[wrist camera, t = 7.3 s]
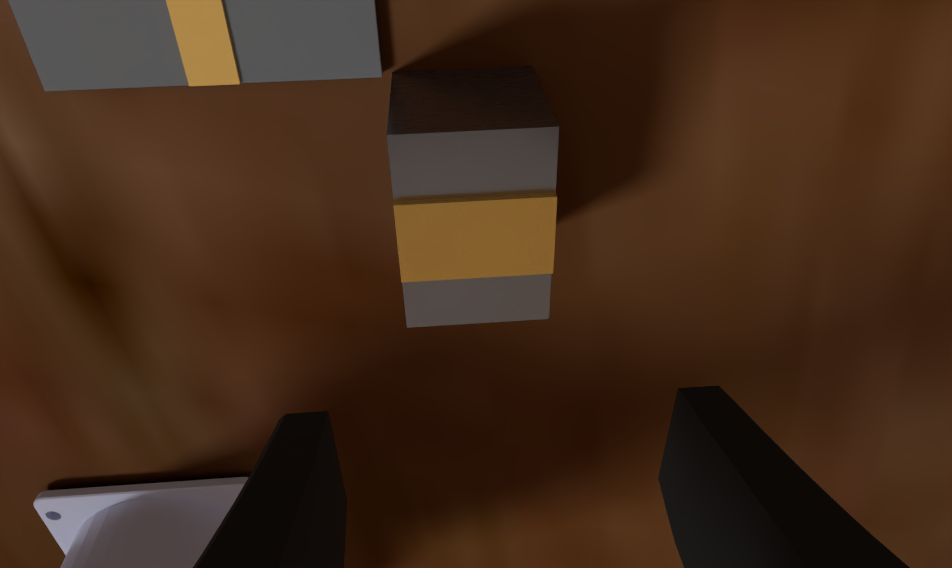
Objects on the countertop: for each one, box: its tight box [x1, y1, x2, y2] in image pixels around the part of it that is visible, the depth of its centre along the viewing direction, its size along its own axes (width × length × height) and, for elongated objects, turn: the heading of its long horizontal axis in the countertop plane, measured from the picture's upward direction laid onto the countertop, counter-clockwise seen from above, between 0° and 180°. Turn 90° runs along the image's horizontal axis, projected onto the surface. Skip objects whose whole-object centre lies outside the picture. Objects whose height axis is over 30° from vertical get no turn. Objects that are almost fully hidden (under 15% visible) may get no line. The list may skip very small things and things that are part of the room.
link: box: [387, 66, 559, 328], centre depth 17 cm, size 5×4×4 cm
